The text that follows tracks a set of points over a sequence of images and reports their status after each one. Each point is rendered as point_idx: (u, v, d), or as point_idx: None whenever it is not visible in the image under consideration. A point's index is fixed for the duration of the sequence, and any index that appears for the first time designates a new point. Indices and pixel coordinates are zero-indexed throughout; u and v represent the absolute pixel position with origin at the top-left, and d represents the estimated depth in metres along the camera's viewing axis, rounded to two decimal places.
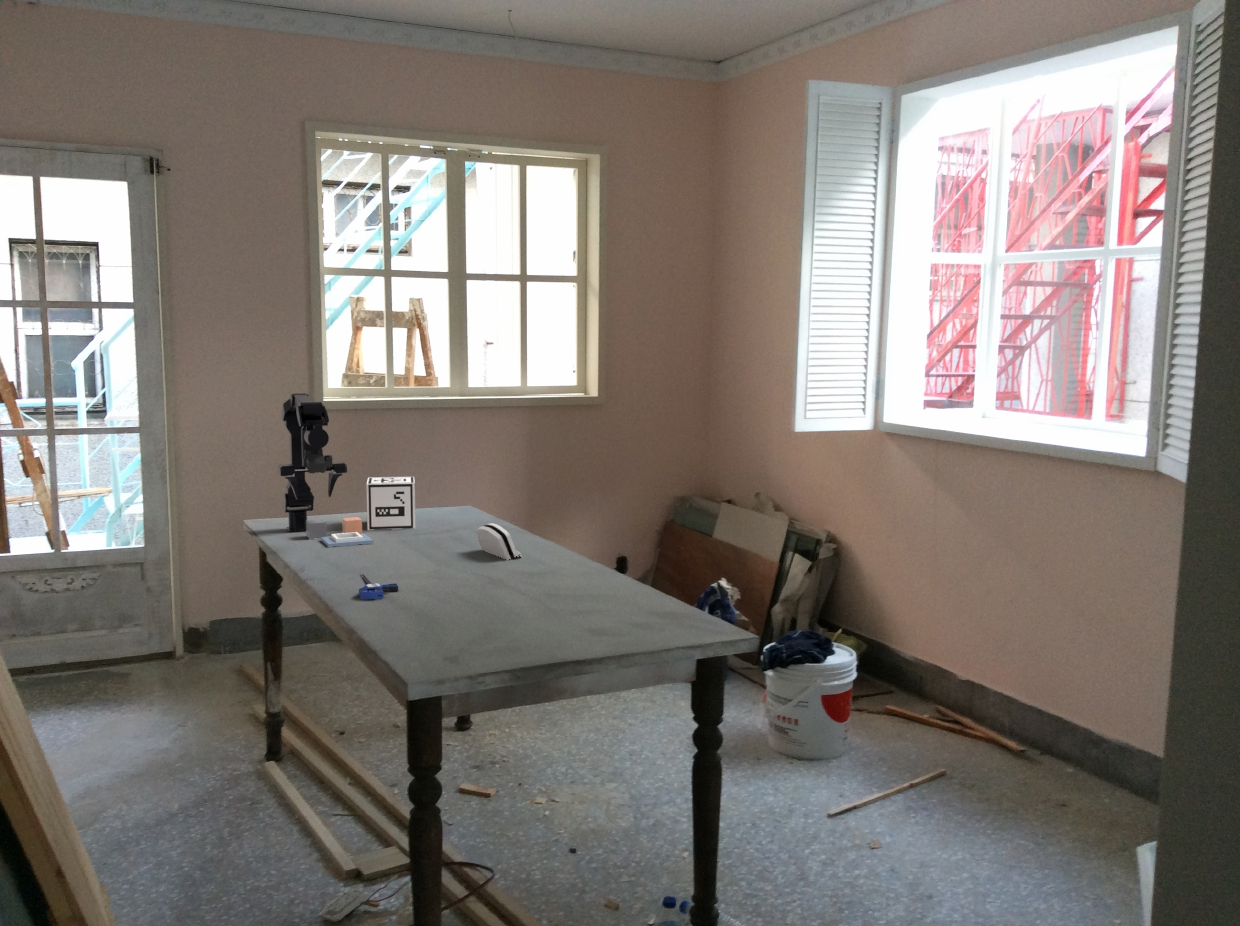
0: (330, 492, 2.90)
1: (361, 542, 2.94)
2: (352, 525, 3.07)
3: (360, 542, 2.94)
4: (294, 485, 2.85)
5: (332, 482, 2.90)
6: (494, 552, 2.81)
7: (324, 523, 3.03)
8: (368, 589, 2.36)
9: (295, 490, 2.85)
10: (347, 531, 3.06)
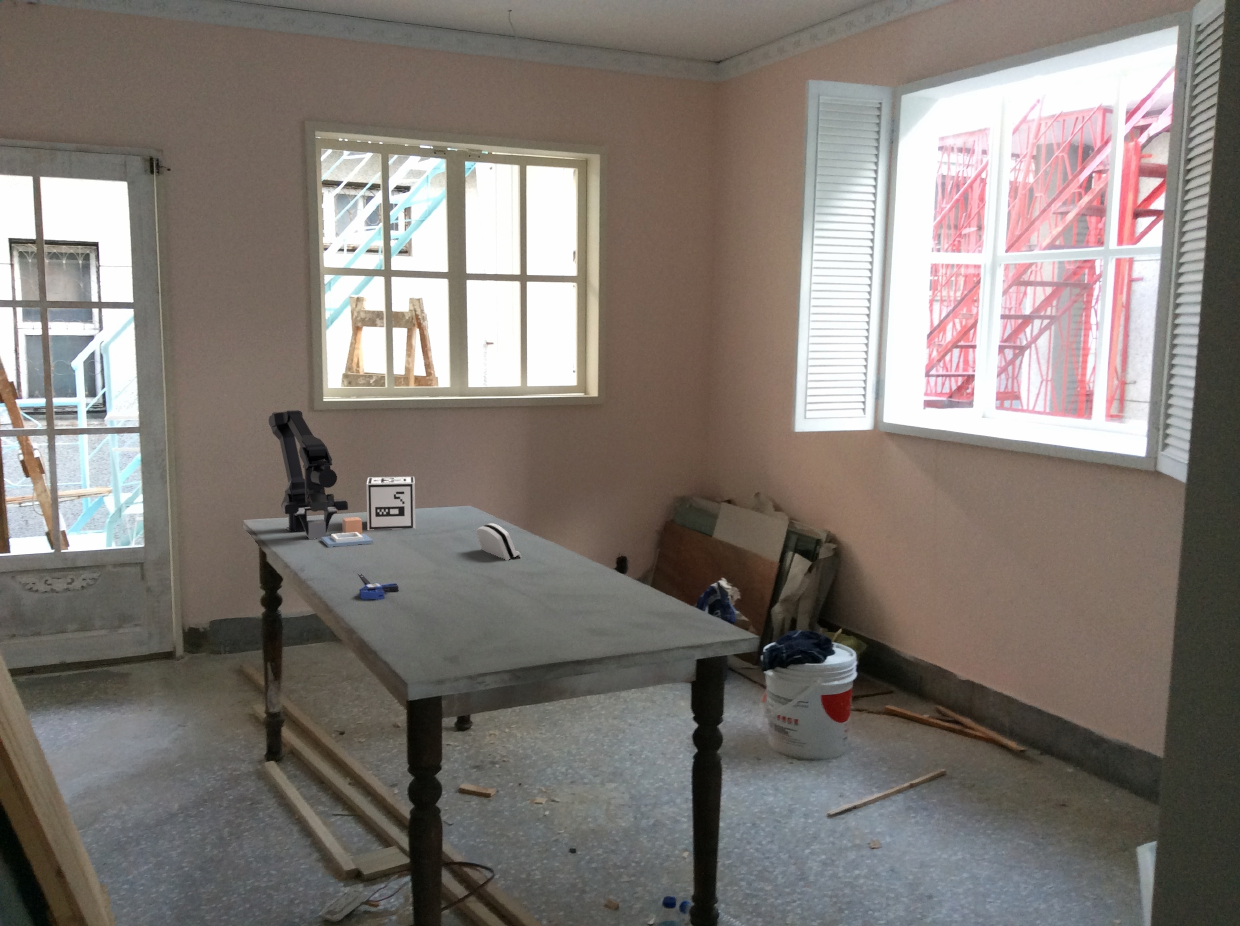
0: None
1: (361, 542, 2.94)
2: (352, 525, 3.07)
3: (360, 542, 2.94)
4: (304, 521, 3.01)
5: (327, 519, 3.04)
6: (494, 552, 2.81)
7: (324, 523, 3.03)
8: (369, 589, 2.36)
9: (305, 526, 3.02)
10: (347, 531, 3.06)
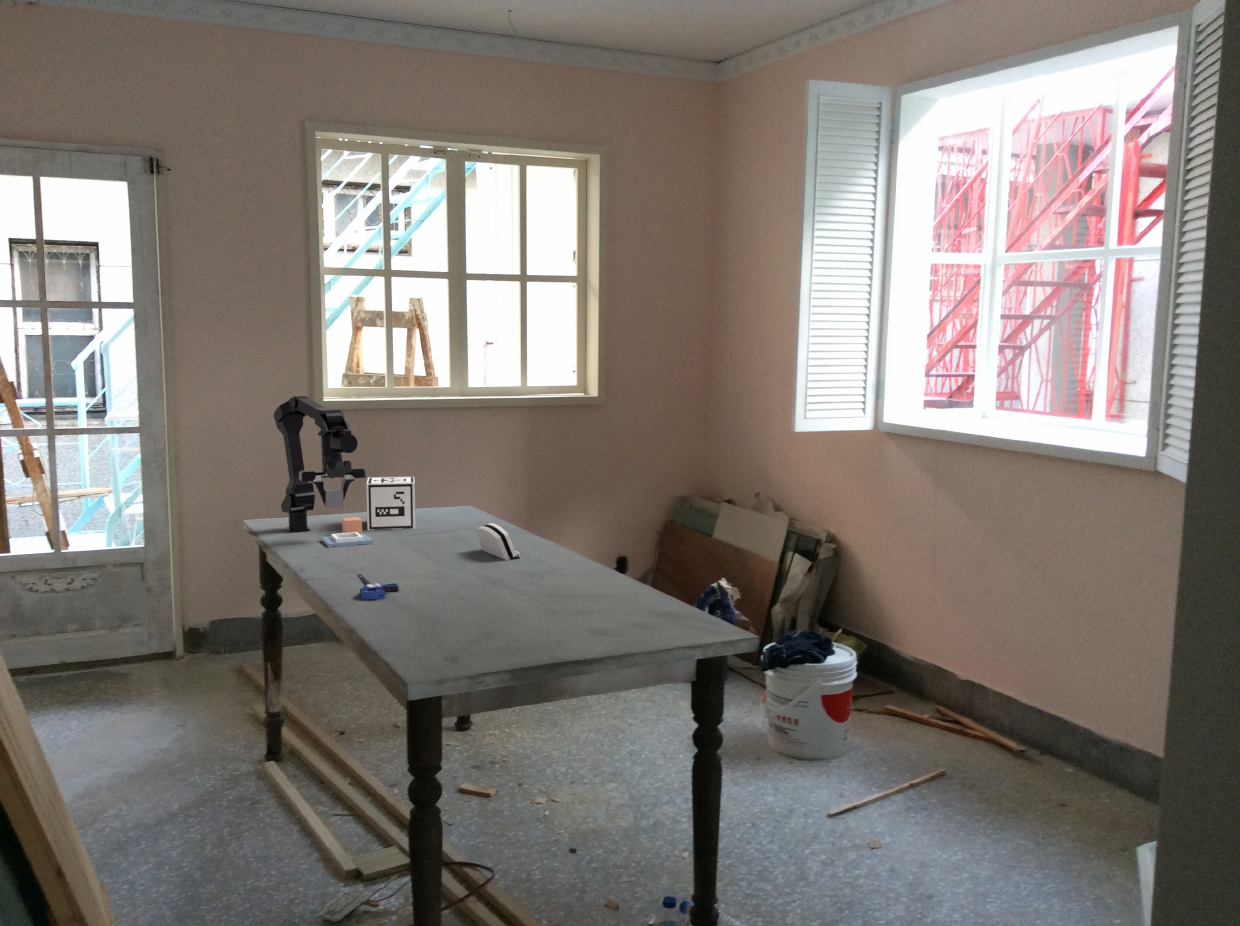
0: (343, 497, 2.99)
1: (361, 542, 2.94)
2: (352, 525, 3.07)
3: (360, 542, 2.94)
4: (322, 489, 2.96)
5: (345, 487, 2.99)
6: (493, 552, 2.81)
7: (341, 491, 2.97)
8: (369, 589, 2.36)
9: (322, 494, 2.96)
10: (347, 531, 3.06)
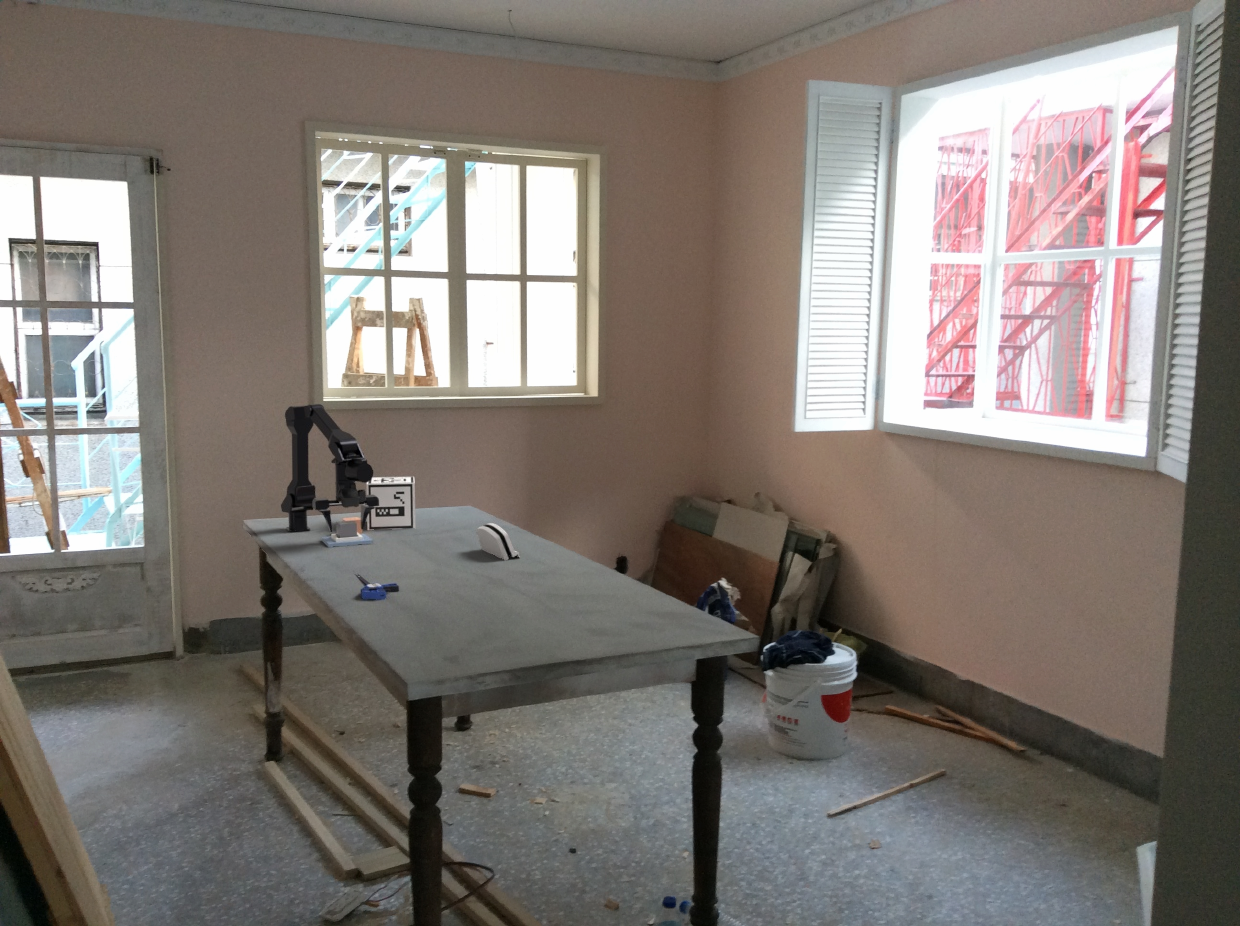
0: (363, 525, 2.99)
1: (361, 542, 2.94)
2: None
3: (360, 542, 2.94)
4: (328, 518, 2.93)
5: (365, 515, 2.98)
6: (493, 552, 2.81)
7: (355, 524, 2.96)
8: (370, 589, 2.36)
9: (329, 523, 2.94)
10: None
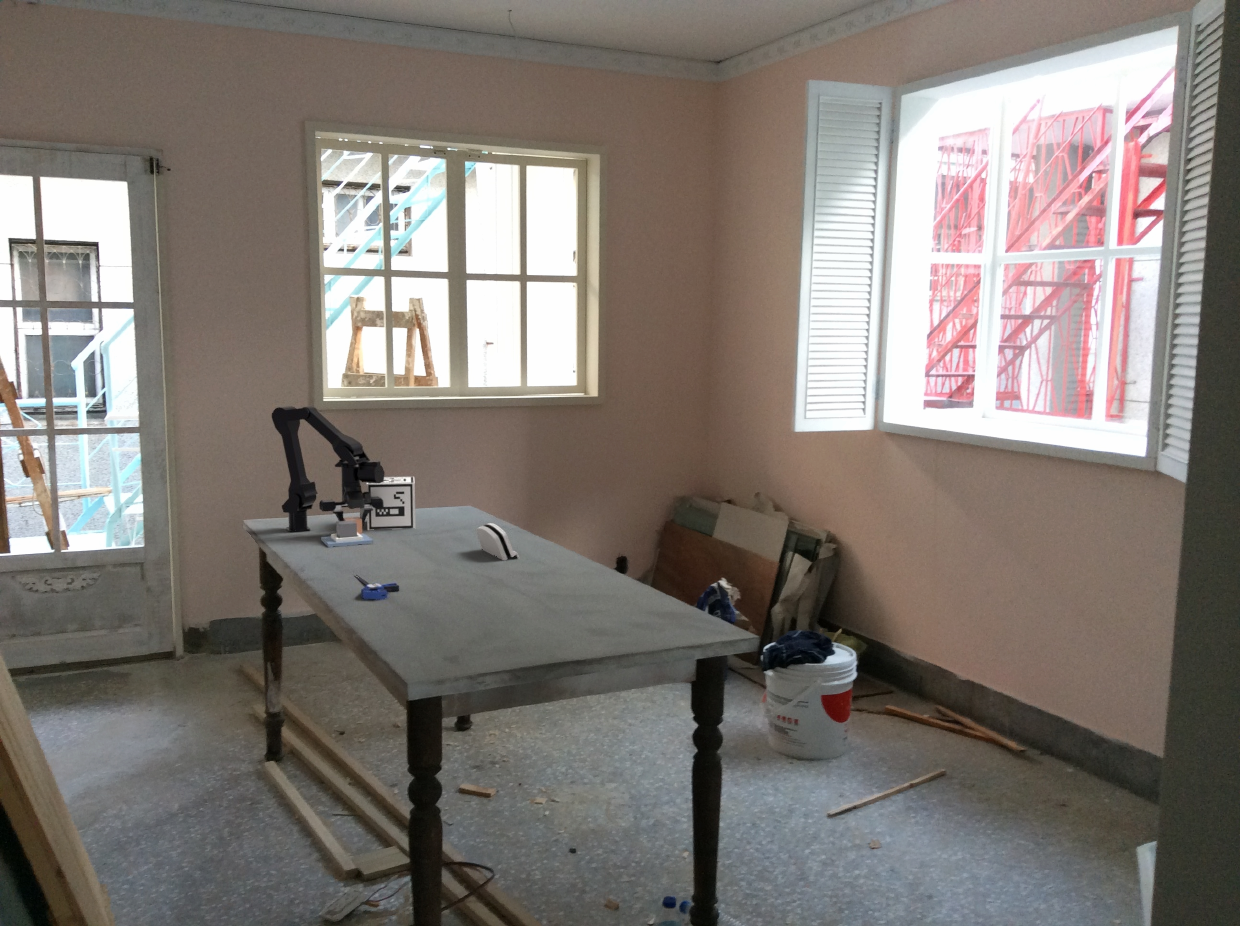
0: None
1: (361, 542, 2.94)
2: None
3: (360, 542, 2.94)
4: (341, 519, 3.06)
5: (363, 516, 3.09)
6: (492, 552, 2.82)
7: (355, 524, 2.96)
8: (370, 589, 2.36)
9: None
10: None
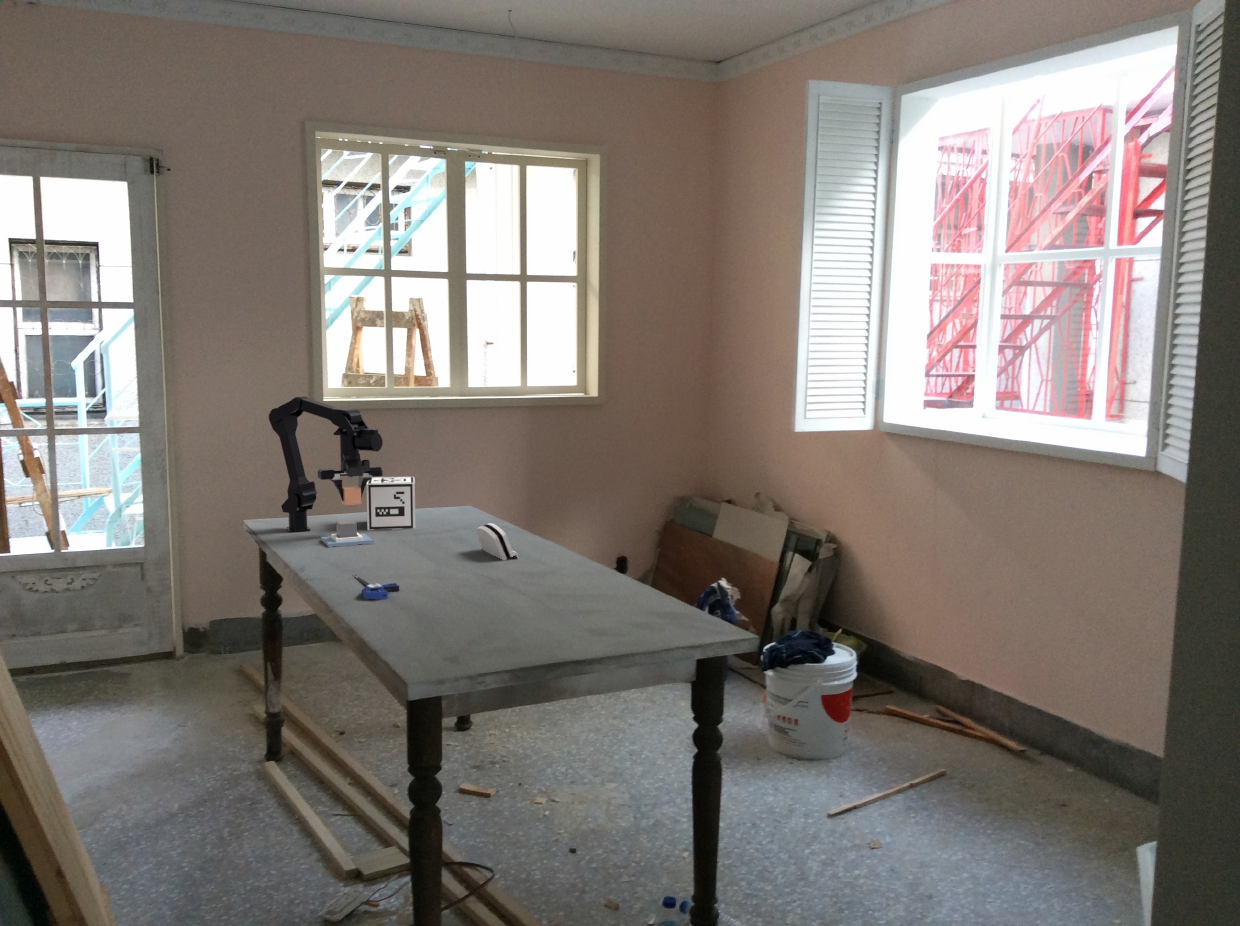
0: None
1: (361, 542, 2.94)
2: (351, 493, 3.04)
3: (360, 542, 2.94)
4: (340, 487, 3.03)
5: (362, 485, 3.06)
6: (492, 552, 2.82)
7: (355, 524, 2.96)
8: (371, 589, 2.36)
9: (341, 492, 3.04)
10: (346, 499, 3.03)
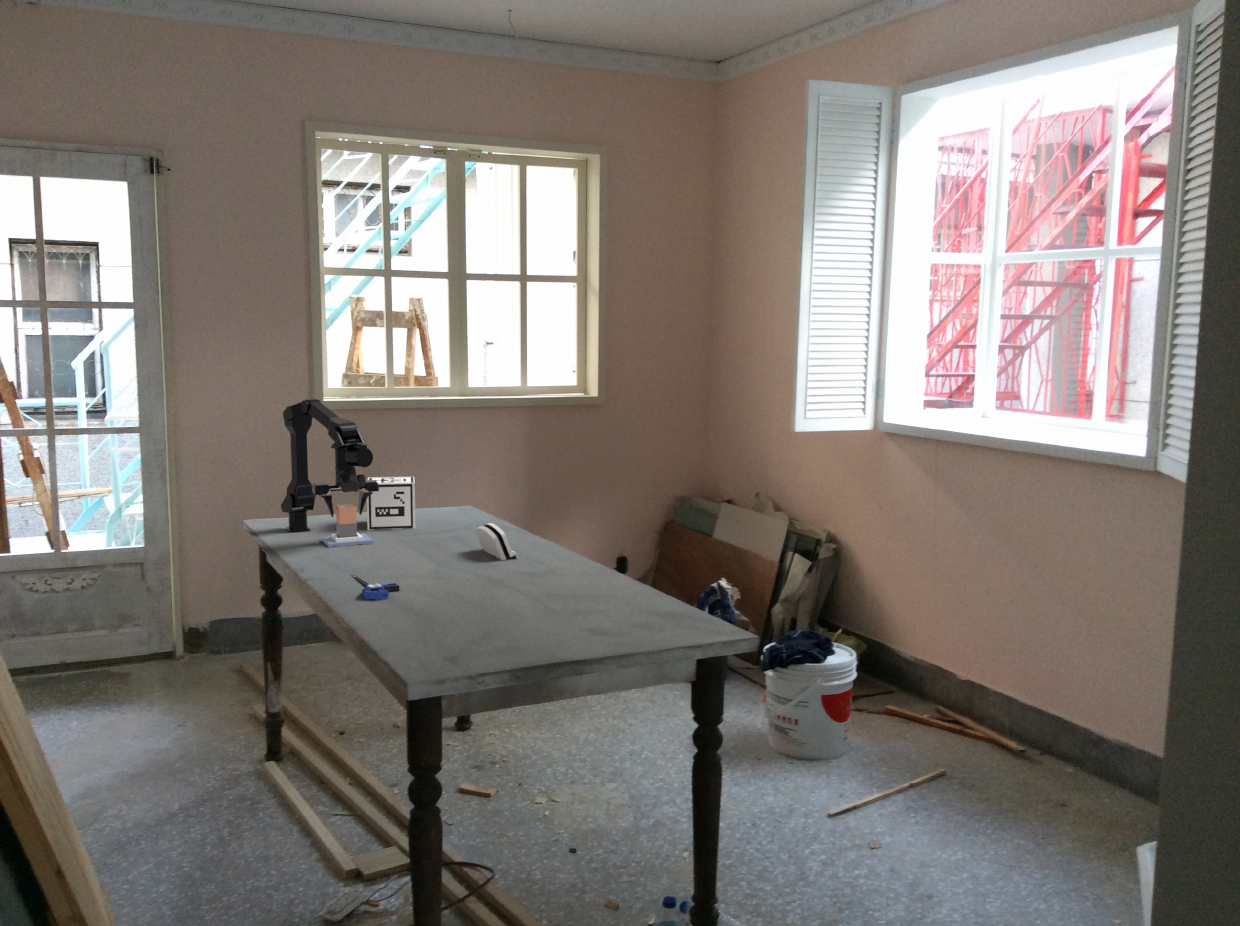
0: (361, 510, 2.98)
1: (361, 542, 2.94)
2: (346, 512, 2.94)
3: (360, 542, 2.94)
4: (330, 503, 2.93)
5: (363, 500, 2.97)
6: (492, 552, 2.82)
7: (355, 524, 2.96)
8: (371, 589, 2.36)
9: (330, 508, 2.94)
10: (341, 518, 2.94)
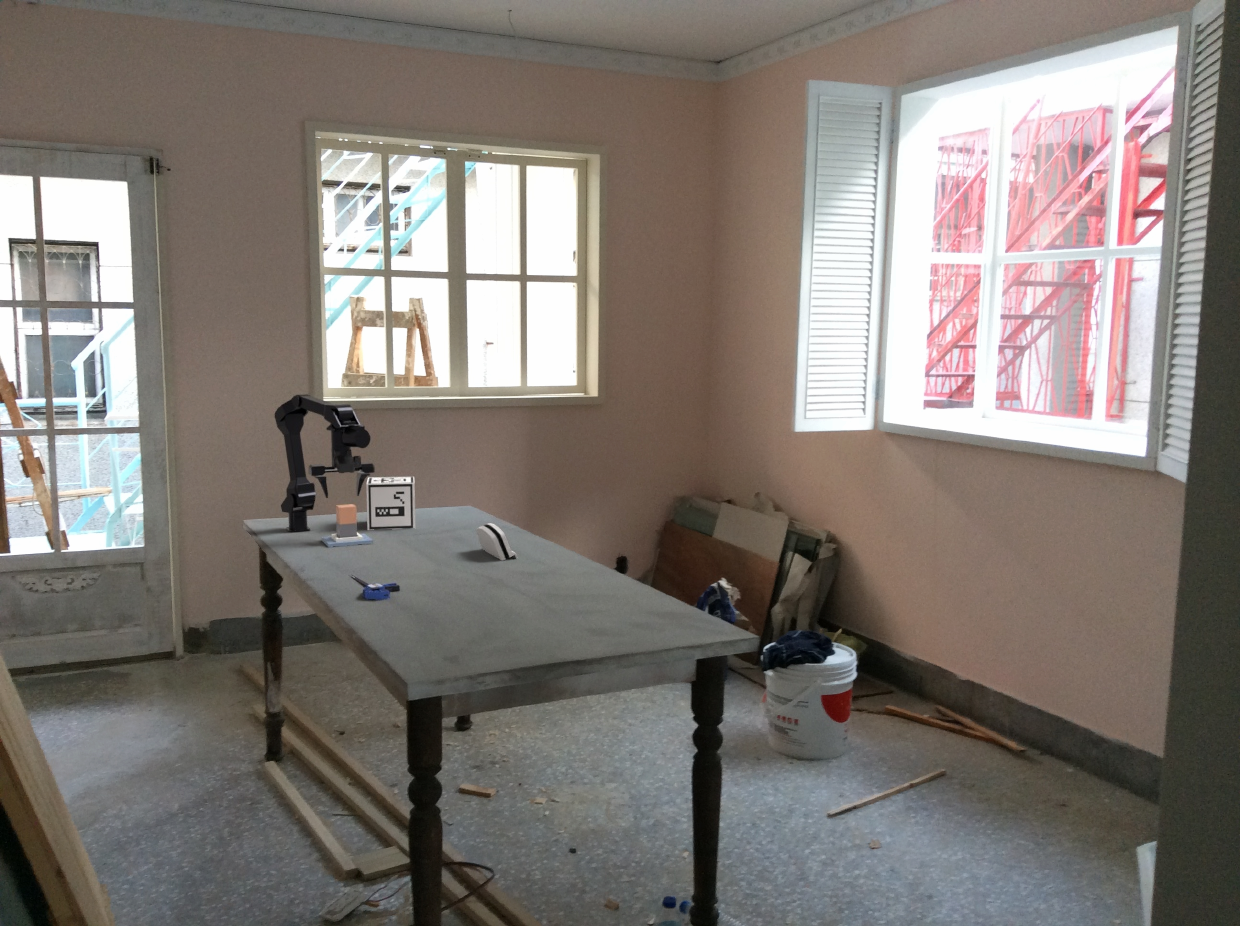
0: (358, 491, 3.02)
1: (361, 542, 2.94)
2: (346, 512, 2.94)
3: (360, 542, 2.94)
4: (324, 484, 2.97)
5: (360, 482, 3.01)
6: (491, 552, 2.82)
7: (355, 524, 2.96)
8: (372, 589, 2.36)
9: (325, 489, 2.97)
10: (341, 518, 2.94)
